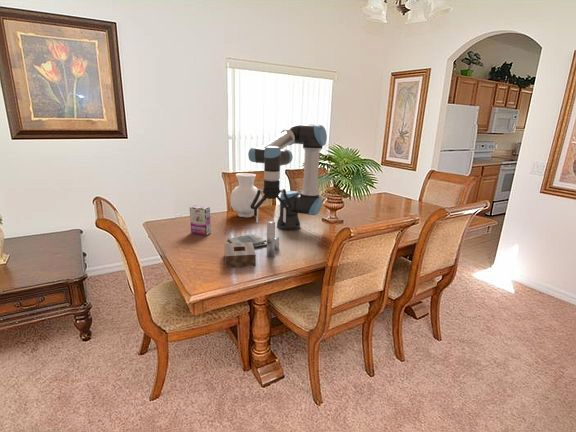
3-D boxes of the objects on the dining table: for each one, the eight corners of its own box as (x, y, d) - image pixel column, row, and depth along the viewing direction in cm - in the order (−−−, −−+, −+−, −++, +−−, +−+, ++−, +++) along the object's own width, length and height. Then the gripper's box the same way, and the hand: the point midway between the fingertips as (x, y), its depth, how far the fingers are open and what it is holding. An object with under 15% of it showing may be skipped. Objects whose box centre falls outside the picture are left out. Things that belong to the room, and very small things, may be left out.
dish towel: (226, 241, 190) (226, 236, 189) (255, 236, 198) (255, 231, 198) (238, 252, 174) (238, 247, 174) (269, 247, 183) (269, 242, 182)
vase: (265, 217, 235) (266, 175, 227) (238, 221, 224) (237, 177, 215) (253, 210, 250) (253, 171, 241) (226, 214, 238) (225, 173, 230)
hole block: (252, 253, 173) (252, 242, 172) (255, 266, 158) (255, 254, 157) (224, 254, 170) (224, 243, 169) (225, 268, 156) (225, 256, 154)
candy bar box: (211, 233, 200) (210, 207, 195) (206, 236, 196) (205, 209, 191) (195, 230, 204) (194, 204, 199) (190, 233, 199) (189, 206, 194)
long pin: (273, 254, 173) (274, 221, 168) (275, 257, 169) (275, 223, 164) (266, 254, 172) (266, 221, 167) (267, 257, 168) (267, 223, 163)
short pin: (278, 247, 182) (278, 237, 180) (279, 250, 178) (279, 239, 177) (271, 247, 181) (271, 237, 180) (272, 250, 178) (272, 239, 176)
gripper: (295, 178, 165) (293, 219, 171) (245, 178, 160) (245, 220, 166) (299, 180, 158) (297, 223, 164) (246, 181, 153) (246, 224, 159)
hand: (270, 222), depth 165 cm, fingers open, 13 cm apart
